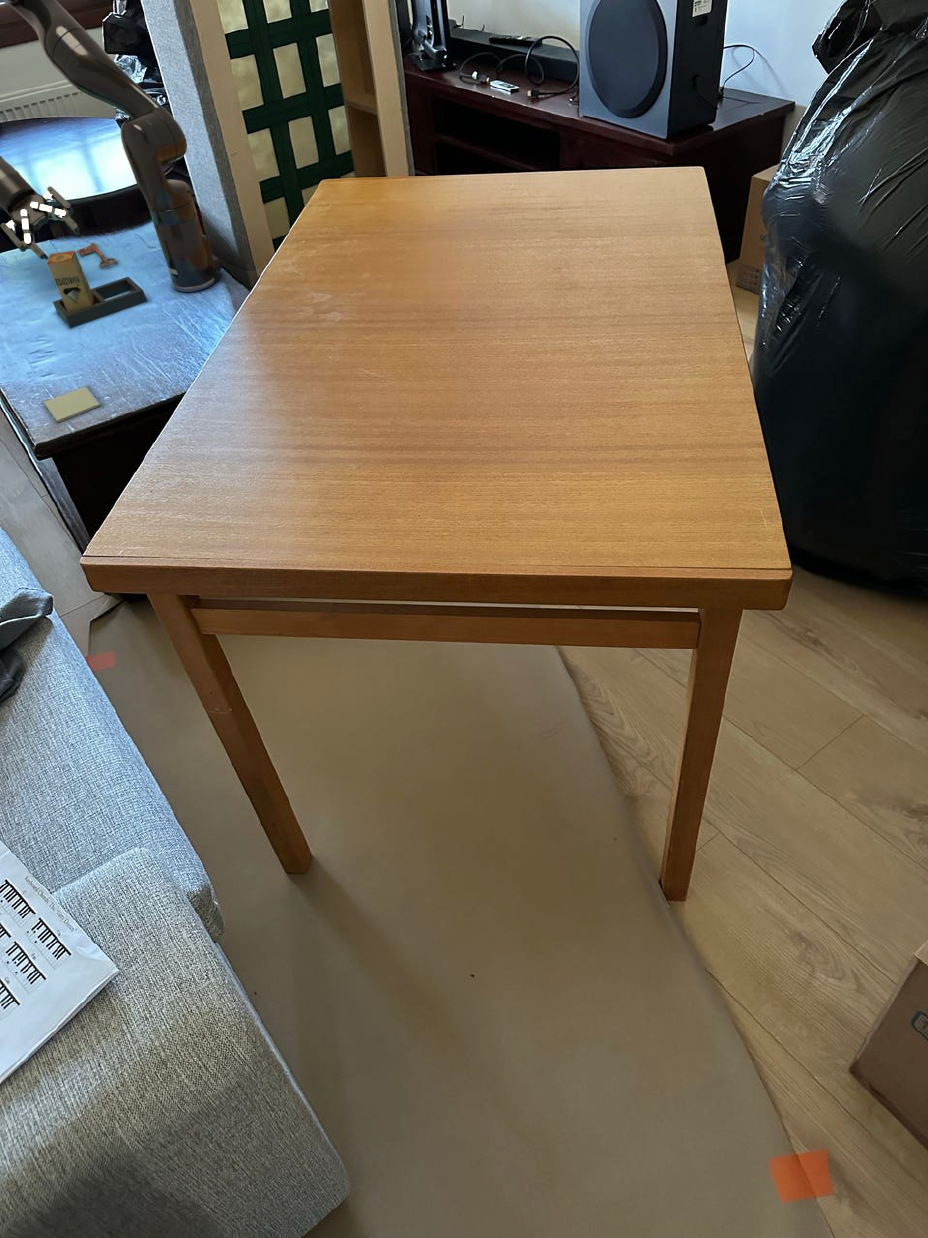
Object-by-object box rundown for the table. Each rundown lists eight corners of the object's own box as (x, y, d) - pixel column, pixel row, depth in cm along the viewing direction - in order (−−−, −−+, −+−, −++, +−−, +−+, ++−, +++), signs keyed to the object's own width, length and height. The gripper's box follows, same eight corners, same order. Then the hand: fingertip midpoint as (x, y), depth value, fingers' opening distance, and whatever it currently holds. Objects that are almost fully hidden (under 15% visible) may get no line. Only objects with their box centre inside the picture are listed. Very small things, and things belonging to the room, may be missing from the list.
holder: (132, 287, 187) (128, 276, 185) (147, 300, 182) (143, 289, 180) (57, 312, 181) (52, 301, 179) (70, 327, 176) (65, 316, 174)
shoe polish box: (95, 316, 178) (72, 260, 170) (71, 320, 178) (47, 264, 169) (97, 305, 182) (74, 250, 173) (73, 309, 181) (50, 254, 173)
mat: (86, 388, 158) (85, 386, 158) (100, 406, 154) (99, 403, 153) (44, 404, 155) (43, 401, 155) (57, 422, 151) (56, 420, 150)
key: (78, 251, 203) (94, 272, 194) (76, 248, 202) (92, 268, 193) (101, 242, 205) (118, 263, 195) (99, 239, 204) (116, 259, 195)
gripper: (40, 176, 182) (93, 233, 183) (-12, 217, 180) (42, 274, 181) (27, 156, 175) (82, 215, 176) (-27, 198, 173) (29, 257, 174)
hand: (62, 245), depth 179 cm, fingers open, 8 cm apart
